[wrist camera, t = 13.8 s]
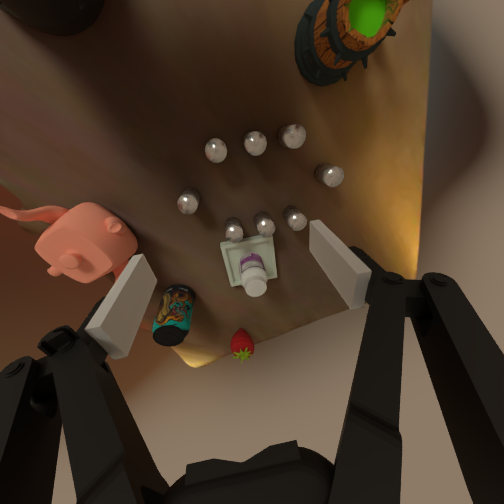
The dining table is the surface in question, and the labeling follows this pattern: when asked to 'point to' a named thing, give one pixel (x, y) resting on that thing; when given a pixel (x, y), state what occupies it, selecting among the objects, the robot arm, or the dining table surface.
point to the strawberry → (242, 345)
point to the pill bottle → (252, 274)
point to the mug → (341, 36)
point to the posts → (256, 146)
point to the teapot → (81, 240)
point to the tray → (248, 244)
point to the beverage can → (173, 316)
